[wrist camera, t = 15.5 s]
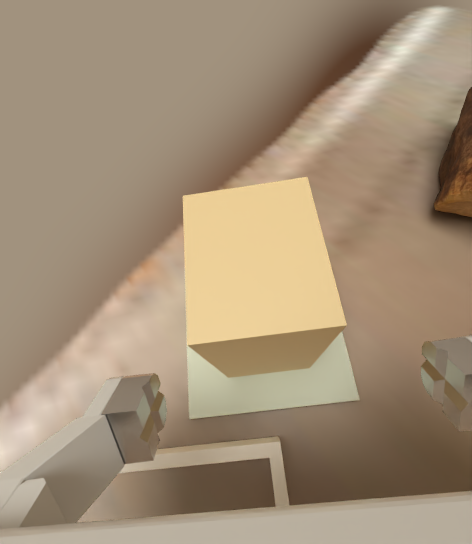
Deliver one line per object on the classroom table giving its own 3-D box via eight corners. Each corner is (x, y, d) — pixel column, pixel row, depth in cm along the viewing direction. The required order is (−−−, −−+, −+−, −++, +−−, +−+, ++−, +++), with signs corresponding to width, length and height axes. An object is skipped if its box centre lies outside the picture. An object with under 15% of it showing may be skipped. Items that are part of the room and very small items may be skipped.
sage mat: (319, 252, 22) (321, 249, 22) (357, 400, 18) (359, 400, 17) (186, 271, 22) (184, 268, 22) (191, 419, 18) (189, 419, 18)
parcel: (291, 278, 21) (307, 176, 12) (309, 368, 18) (346, 325, 9) (220, 288, 21) (182, 195, 12) (228, 377, 18) (187, 345, 9)
